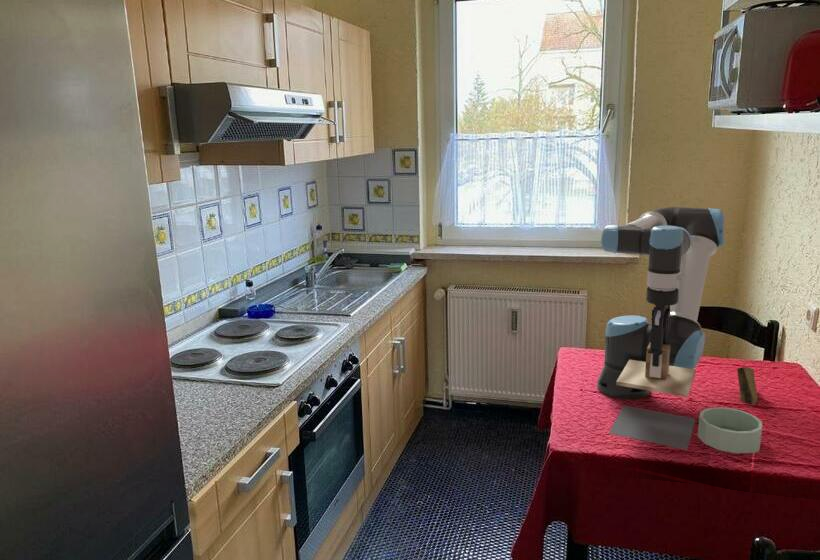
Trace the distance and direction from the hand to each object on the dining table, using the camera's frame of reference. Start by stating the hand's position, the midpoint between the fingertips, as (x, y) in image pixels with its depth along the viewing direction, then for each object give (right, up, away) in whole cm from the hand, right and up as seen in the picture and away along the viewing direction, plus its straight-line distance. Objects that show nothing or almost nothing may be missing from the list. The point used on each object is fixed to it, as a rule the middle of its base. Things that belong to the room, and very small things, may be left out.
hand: (656, 372), depth 161 cm
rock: (+36, -11, +21) cm, 43 cm away
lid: (0, -2, 0) cm, 2 cm away
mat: (0, -15, +4) cm, 16 cm away
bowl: (+16, -17, -4) cm, 24 cm away
